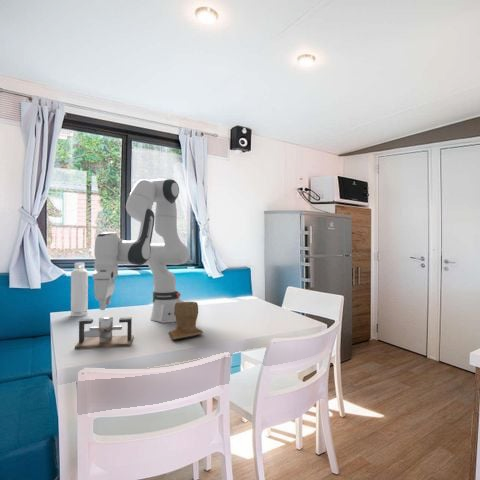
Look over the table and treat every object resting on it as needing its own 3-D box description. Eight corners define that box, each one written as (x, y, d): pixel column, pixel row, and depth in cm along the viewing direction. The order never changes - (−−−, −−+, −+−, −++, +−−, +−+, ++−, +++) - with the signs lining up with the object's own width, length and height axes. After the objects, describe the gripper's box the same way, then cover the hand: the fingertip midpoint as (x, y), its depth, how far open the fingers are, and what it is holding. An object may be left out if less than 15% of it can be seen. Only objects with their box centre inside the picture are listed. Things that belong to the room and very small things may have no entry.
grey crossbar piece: (122, 327, 135) (122, 315, 135) (120, 331, 130) (120, 319, 130) (91, 329, 133) (91, 316, 132) (88, 333, 127) (88, 320, 127)
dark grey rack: (133, 337, 139) (133, 315, 139) (130, 346, 128) (130, 321, 128) (82, 339, 135) (82, 316, 135) (74, 349, 124) (74, 323, 124)
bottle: (76, 317, 171) (76, 263, 171) (67, 315, 175) (67, 262, 175) (90, 314, 178) (91, 262, 178) (81, 312, 182) (82, 261, 182)
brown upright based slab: (192, 330, 151) (192, 297, 151) (206, 336, 142) (206, 301, 141) (161, 335, 141) (162, 301, 141) (174, 343, 132) (175, 306, 132)
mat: (107, 331, 147) (107, 330, 147) (103, 337, 138) (103, 336, 138) (85, 332, 145) (85, 330, 145) (80, 338, 136) (80, 337, 136)
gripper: (103, 270, 140) (102, 302, 140) (91, 275, 120) (90, 312, 120) (118, 270, 142) (117, 302, 142) (109, 275, 122) (109, 312, 121)
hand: (105, 307), depth 131 cm, fingers open, 8 cm apart
